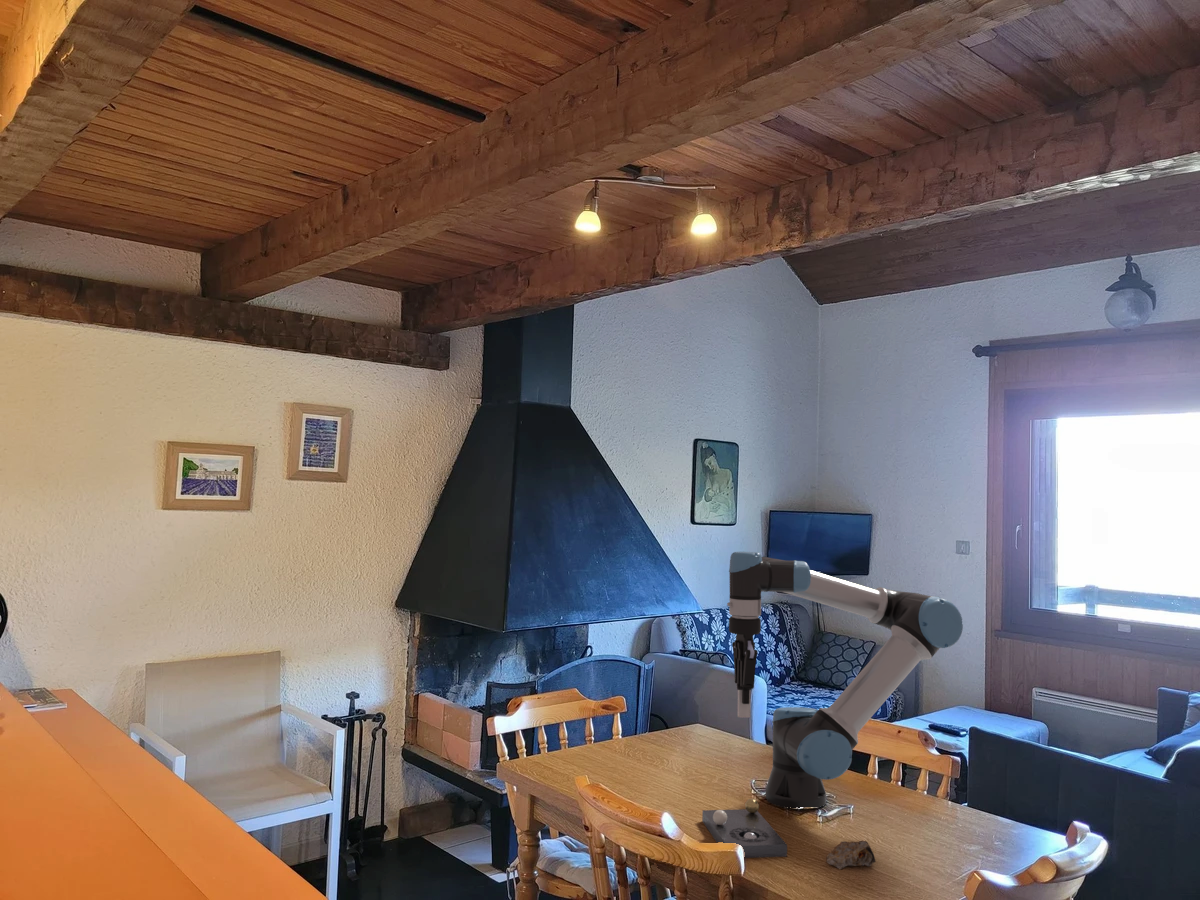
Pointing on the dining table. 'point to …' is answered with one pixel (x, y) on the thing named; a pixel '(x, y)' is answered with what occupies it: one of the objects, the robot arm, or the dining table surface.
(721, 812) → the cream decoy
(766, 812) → the dining table surface
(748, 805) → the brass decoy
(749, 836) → the steel ball
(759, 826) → the plate
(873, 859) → the rock
